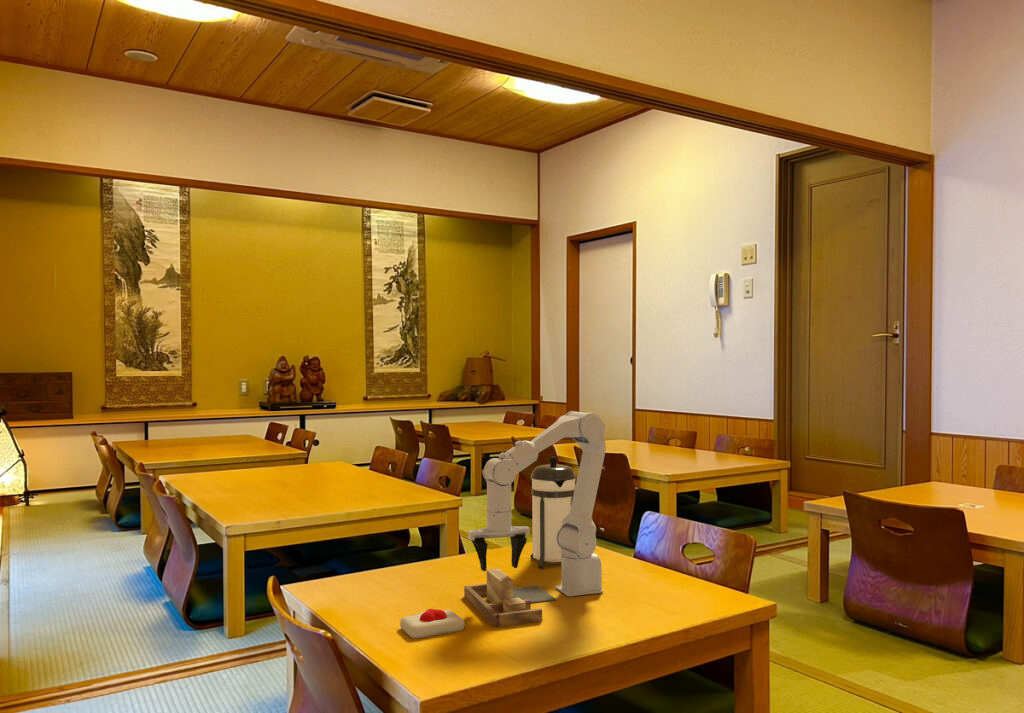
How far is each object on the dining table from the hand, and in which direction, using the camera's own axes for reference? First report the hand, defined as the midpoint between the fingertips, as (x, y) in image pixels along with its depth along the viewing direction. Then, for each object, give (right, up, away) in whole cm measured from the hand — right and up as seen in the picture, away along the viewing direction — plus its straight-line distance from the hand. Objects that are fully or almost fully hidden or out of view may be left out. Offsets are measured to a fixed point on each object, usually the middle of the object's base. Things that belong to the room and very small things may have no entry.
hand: (499, 568), depth 179 cm
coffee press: (+14, -9, +38) cm, 41 cm away
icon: (-14, -9, -16) cm, 23 cm away
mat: (+7, -8, +7) cm, 13 cm away
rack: (+1, -8, -3) cm, 9 cm away
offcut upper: (+3, -7, -9) cm, 12 cm away
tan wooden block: (0, -8, 0) cm, 8 cm away
